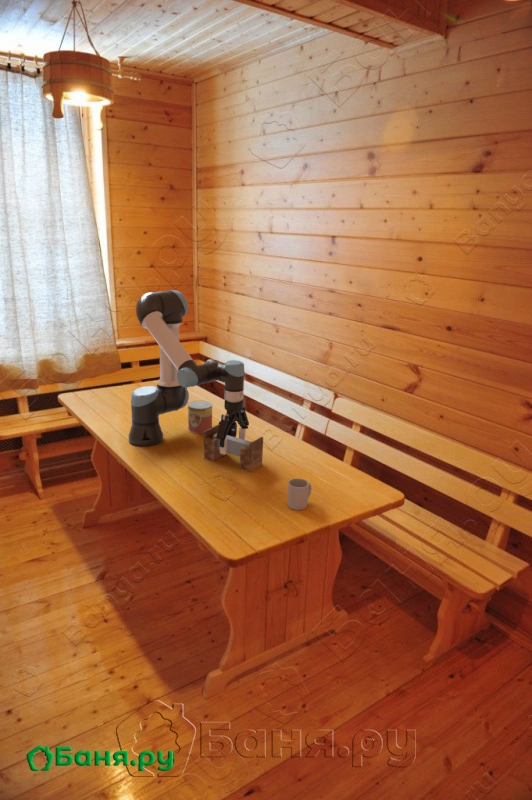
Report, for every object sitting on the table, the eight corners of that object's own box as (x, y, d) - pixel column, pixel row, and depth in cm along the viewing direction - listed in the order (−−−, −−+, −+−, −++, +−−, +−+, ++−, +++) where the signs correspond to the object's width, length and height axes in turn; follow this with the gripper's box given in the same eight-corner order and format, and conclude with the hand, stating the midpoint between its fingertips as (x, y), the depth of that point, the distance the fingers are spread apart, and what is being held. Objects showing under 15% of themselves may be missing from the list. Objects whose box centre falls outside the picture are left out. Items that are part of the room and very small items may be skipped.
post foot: (239, 468, 230) (240, 441, 226) (251, 461, 237) (252, 434, 233) (250, 472, 227) (251, 444, 223) (262, 464, 235) (263, 437, 231)
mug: (225, 451, 246) (225, 430, 242) (215, 441, 256) (215, 421, 253) (243, 448, 249) (243, 428, 246) (232, 438, 259) (232, 419, 256)
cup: (282, 504, 204) (284, 482, 201) (302, 496, 210) (304, 474, 207) (296, 512, 198) (298, 489, 196) (317, 504, 205) (318, 481, 202)
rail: (212, 448, 238) (212, 435, 236) (217, 445, 241) (217, 432, 239) (250, 459, 229) (251, 445, 227) (255, 456, 232) (256, 443, 230)
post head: (204, 457, 238) (204, 431, 234) (216, 450, 246) (216, 424, 242) (213, 460, 236) (213, 434, 232) (226, 453, 243) (226, 427, 239)
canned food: (183, 430, 266) (183, 406, 263) (195, 422, 276) (195, 399, 273) (205, 434, 263) (205, 410, 259) (216, 426, 273) (216, 402, 269)
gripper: (223, 410, 216) (222, 461, 223) (258, 393, 236) (256, 440, 243) (207, 405, 219) (207, 456, 226) (243, 389, 240) (241, 436, 247)
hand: (232, 448), depth 235 cm, fingers open, 13 cm apart
